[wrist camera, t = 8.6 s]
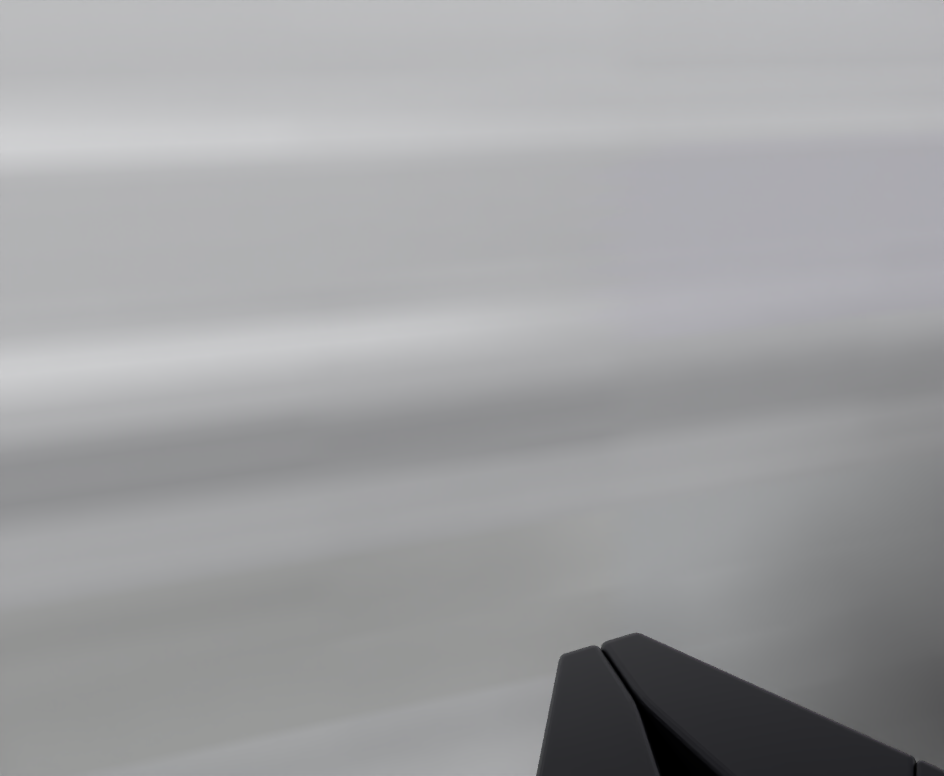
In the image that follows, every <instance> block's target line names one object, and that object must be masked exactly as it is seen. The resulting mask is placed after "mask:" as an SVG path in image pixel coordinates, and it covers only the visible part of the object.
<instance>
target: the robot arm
mask: <svg viewBox="0 0 944 776" xmlns="http://www.w3.org/2000/svg"><path fill="white" fill-rule="evenodd" d="M536 776H944V770H942V769H940V768H938V767H936V766H934V765H931V764H929V763H927V762H925V761H918V762H917V763H916V761H915V759H914V757H912V756H911V755H908V754H906V753H904V752H902V751H900V750H897V749H895V748H893V747H891V746H889V745H886V744H884V743H882V742H880V741H877V740H875V739H873V738H871V737H869V736H866V735H864V734H862V733H860V732H858V731H855V730H853V729H851V728H849V727H846V726H844V725H842V724H840V723H838V722H835V721H833V720H831V719H829V718H827V717H824V716H822V715H820V714H818V713H816V712H813V711H811V710H809V709H807V708H804V707H802V706H800V705H798V704H796V703H793V702H791V701H789V700H787V699H785V698H782V697H780V696H778V695H776V694H773V693H771V692H769V691H767V690H765V689H762V688H760V687H758V686H756V685H754V684H751V683H749V682H747V681H745V680H742V679H740V678H738V677H736V676H734V675H731V674H729V673H727V672H725V671H723V670H720V669H718V668H716V667H714V666H712V665H709V664H707V663H705V662H703V661H700V660H698V659H696V658H694V657H692V656H689V655H687V654H685V653H683V652H681V651H678V650H676V649H674V648H672V647H669V646H667V645H665V644H663V643H661V642H658V641H656V640H654V639H652V638H650V637H647V636H645V635H643V634H640V633H632V634H629V635H625V636H622V637H619V638H615V639H612V640H609V641H606V642H604V643H603V644H602V646H601V649H600V648H599V647H598V646H589V647H585V648H582V649H579V650H575V651H572V652H569V653H565V654H563V655H562V656H561V657H560V659H559V662H558V668H557V673H556V678H555V683H554V688H553V693H552V698H551V703H550V708H549V713H548V718H547V724H546V729H545V734H544V739H543V744H542V749H541V754H540V759H539V764H538V769H537V774H536Z"/></svg>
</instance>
